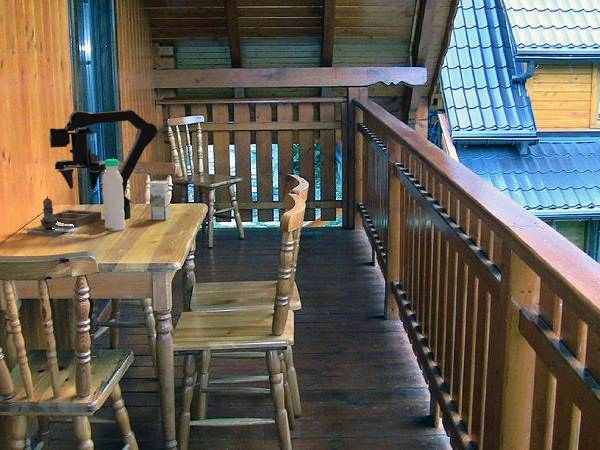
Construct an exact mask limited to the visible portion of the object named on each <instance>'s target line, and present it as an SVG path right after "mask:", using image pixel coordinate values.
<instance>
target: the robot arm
mask: <svg viewBox="0 0 600 450" xmlns="http://www.w3.org/2000/svg"><path fill="white" fill-rule="evenodd" d="M68 119H69V120H68V122H67V123H66V125H65V127H63V128H52V127H51V128H49V137H48V139H49V140H48V141H49V147H50V148H67V147H68V145H70V144H71V149H69V154H70V153H71V155H72V156H71V158H72V160H66V159H64V160H58V161H56V162H55V164H54V169H55V170H57V172H58V173H60V174H61V175H62V177H63V179H64V181H65V182H66V184H67V186H68V187H69V188H70V190H72V189H73V188H74V178H73V173H74V170H75V169H88V170H90V171H88V176H89V181H90V187H91V190H92V191H95V189H96V185H97V183H98V179H99V177H100V175H101V173H105V171H106V167H105V161H99V155H97V154H95V153H92V150H91V148H89V142H88V140H89V137H88V135H89V134H94V131H92V130H91V129H90V128H89V127H90V126H93V125H95V124H103V123H116V122H126V121H128V122H129V123H130V125H132V126H133V127H134V128H135V129H137V131H136V134H135V139H134V142H133V145H132V147H131V149H130V150H129V152H128V155H127V156H126V158H125V160H124V162H123V165H122V166H121V168H120V170H119V173H120V175H121V177H122V179H123V183H122V185H123V195H124V220H129V219H131V199H129V198H128V197H126V196H125V195H126V191H127V185H128V181H129V179H130V177H131V176H132V174H133V172H134V170H135V168H136V166H137V164H138V162H139V160H140V158H141V157H142V154H143V152H144V150H146V149H145V148H146V147H148V145H149V144H150V143H151V142H152V141H153V140H154V138H155V137H156V136H157V133H158V130H157V127H156V125H155V124H153V123H152V122H147V121H146V120H145V119H144V118H142V117H141V116H140V115H139V114H137V113H136V112H135V111H134V110H133V109H126V110H125V109H124V110H115V111H103V112H92V111H91V112H90V111H83V110H81V111H79V110H75V111H72V112H71V113H70V115H69V117H68ZM75 130H76V131H75Z"/></svg>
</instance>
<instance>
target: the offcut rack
mask: <svg viewBox="0 0 600 450" xmlns="http://www.w3.org/2000/svg"><path fill="white" fill-rule="evenodd" d="M53 217H54V218H55V219H57V221H58V222H61V223H64V224H73V225H74V227H75V228H79V227H83V226H86V225H88V224H92V223H95V222H97V221H101V220H102V211H95V210H94V211H92V210H77V209H76V210H75V209H68V210H64V211H59V212H57V213H53ZM43 218H44V216H43V217H42V219H43ZM42 219H41V220H42Z"/></svg>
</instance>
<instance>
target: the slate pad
mask: <svg viewBox="0 0 600 450" xmlns="http://www.w3.org/2000/svg"><path fill="white" fill-rule="evenodd" d="M67 232H68V231H58V230H55V231H51V232H44V231H42V229H31V230H28V231H26V234H27V235H31V236H42V237H43V236H45V237H59V236H62V235H65V233H66V234H68V233H67Z"/></svg>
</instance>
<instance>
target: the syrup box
mask: <svg viewBox="0 0 600 450" xmlns="http://www.w3.org/2000/svg"><path fill="white" fill-rule="evenodd" d="M149 192H150V193H149V194H150V195H149V196H150V198H149V199H150V214H151V215H150V216H151V217H150V218H151V221H167V220H169V219H170V207H169V206H170V201H169V196H170V195H169V181H168V180H151V181H150V182H149Z"/></svg>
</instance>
